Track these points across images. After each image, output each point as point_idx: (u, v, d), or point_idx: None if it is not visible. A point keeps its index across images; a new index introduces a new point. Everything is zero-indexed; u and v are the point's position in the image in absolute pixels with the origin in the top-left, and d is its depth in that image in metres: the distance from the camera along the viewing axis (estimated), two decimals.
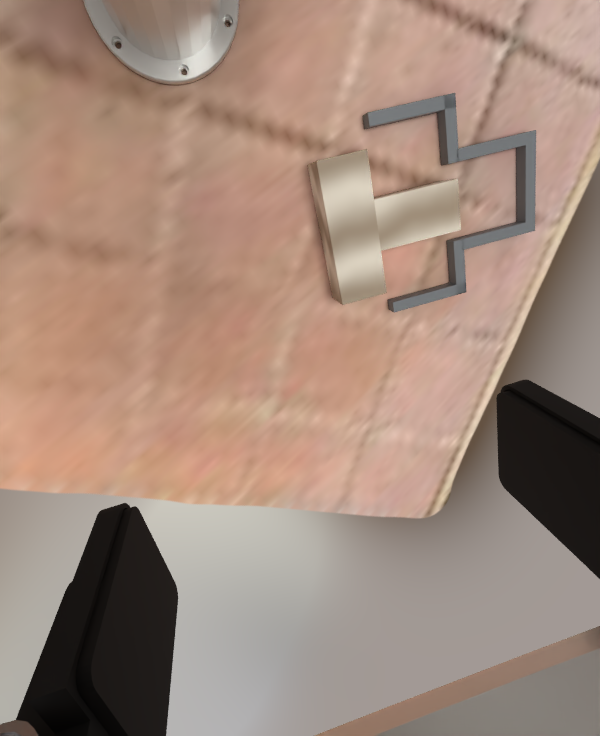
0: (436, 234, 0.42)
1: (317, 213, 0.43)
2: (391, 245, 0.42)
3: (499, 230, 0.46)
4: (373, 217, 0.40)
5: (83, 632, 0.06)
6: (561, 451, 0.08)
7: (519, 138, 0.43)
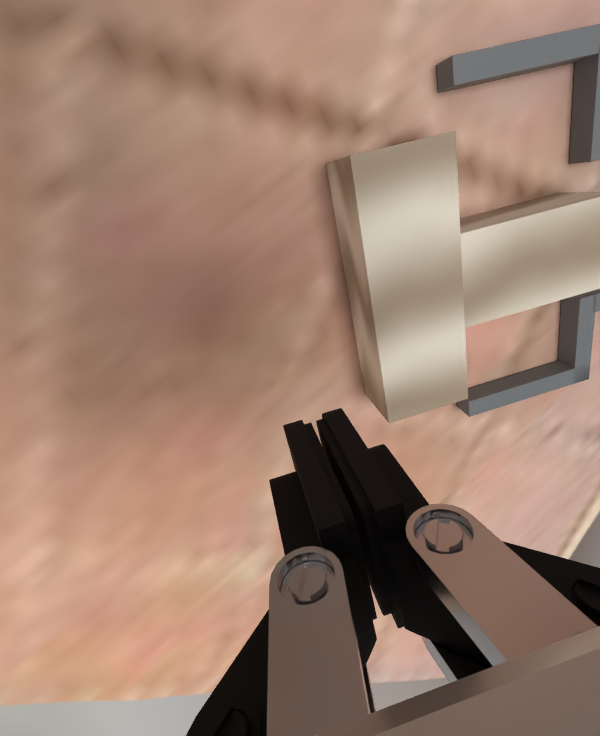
0: (566, 295, 0.23)
1: (343, 254, 0.23)
2: (484, 317, 0.22)
3: None
4: (456, 267, 0.21)
5: (331, 493, 0.08)
6: (341, 479, 0.09)
7: None
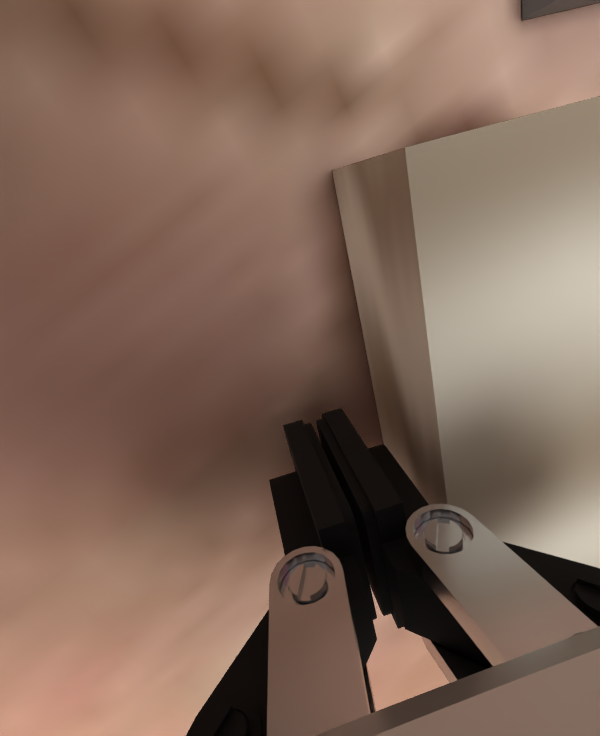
0: None
1: (371, 353, 0.11)
2: None
3: None
4: None
5: (331, 493, 0.08)
6: (341, 479, 0.09)
7: None
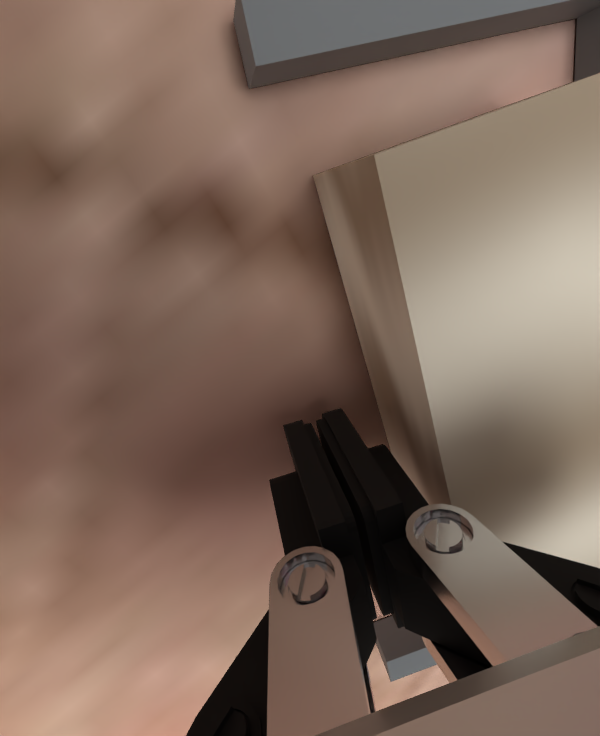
0: None
1: (367, 354, 0.11)
2: None
3: None
4: None
5: (331, 493, 0.08)
6: (341, 479, 0.09)
7: None
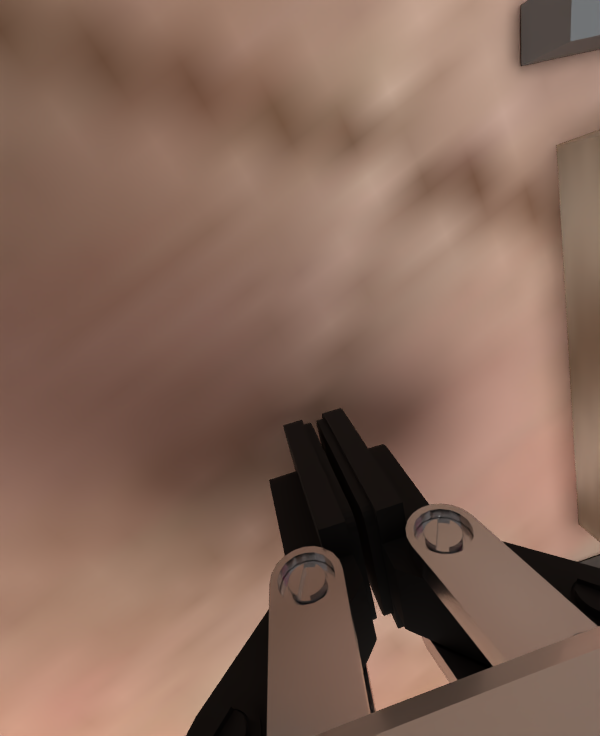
0: None
1: (578, 311, 0.12)
2: None
3: None
4: None
5: (331, 493, 0.08)
6: (341, 479, 0.09)
7: None
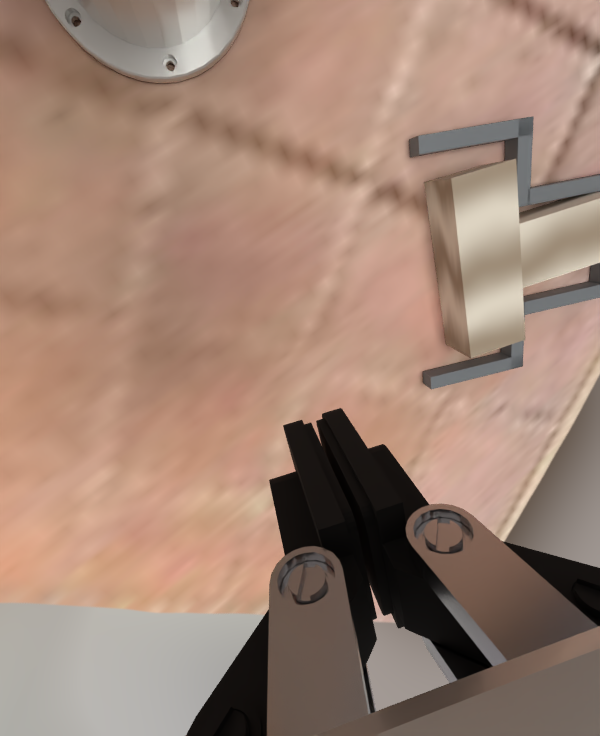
0: (592, 262, 0.33)
1: (434, 242, 0.33)
2: (536, 280, 0.32)
3: (570, 292, 0.36)
4: (517, 246, 0.31)
5: (331, 493, 0.08)
6: (341, 479, 0.09)
7: None
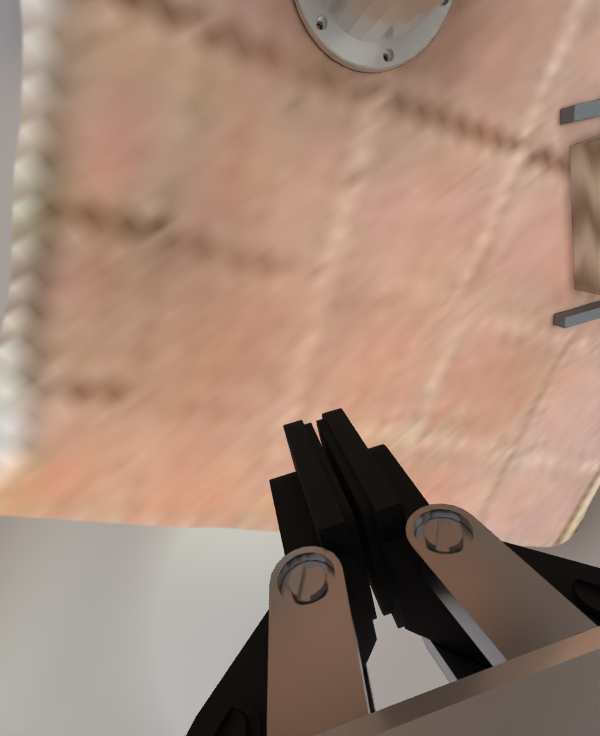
0: None
1: (575, 198, 0.39)
2: None
3: None
4: None
5: (331, 493, 0.08)
6: (341, 479, 0.09)
7: None
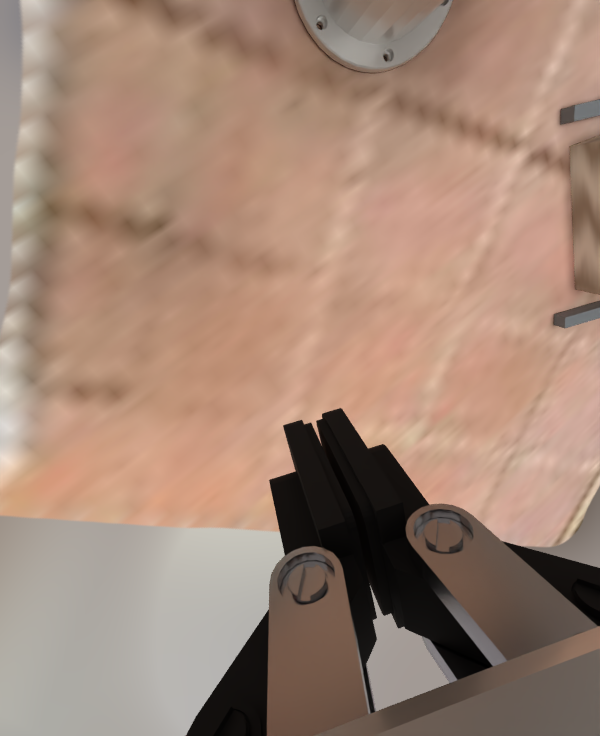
0: None
1: (575, 198, 0.39)
2: None
3: None
4: None
5: (331, 493, 0.08)
6: (341, 479, 0.09)
7: None
